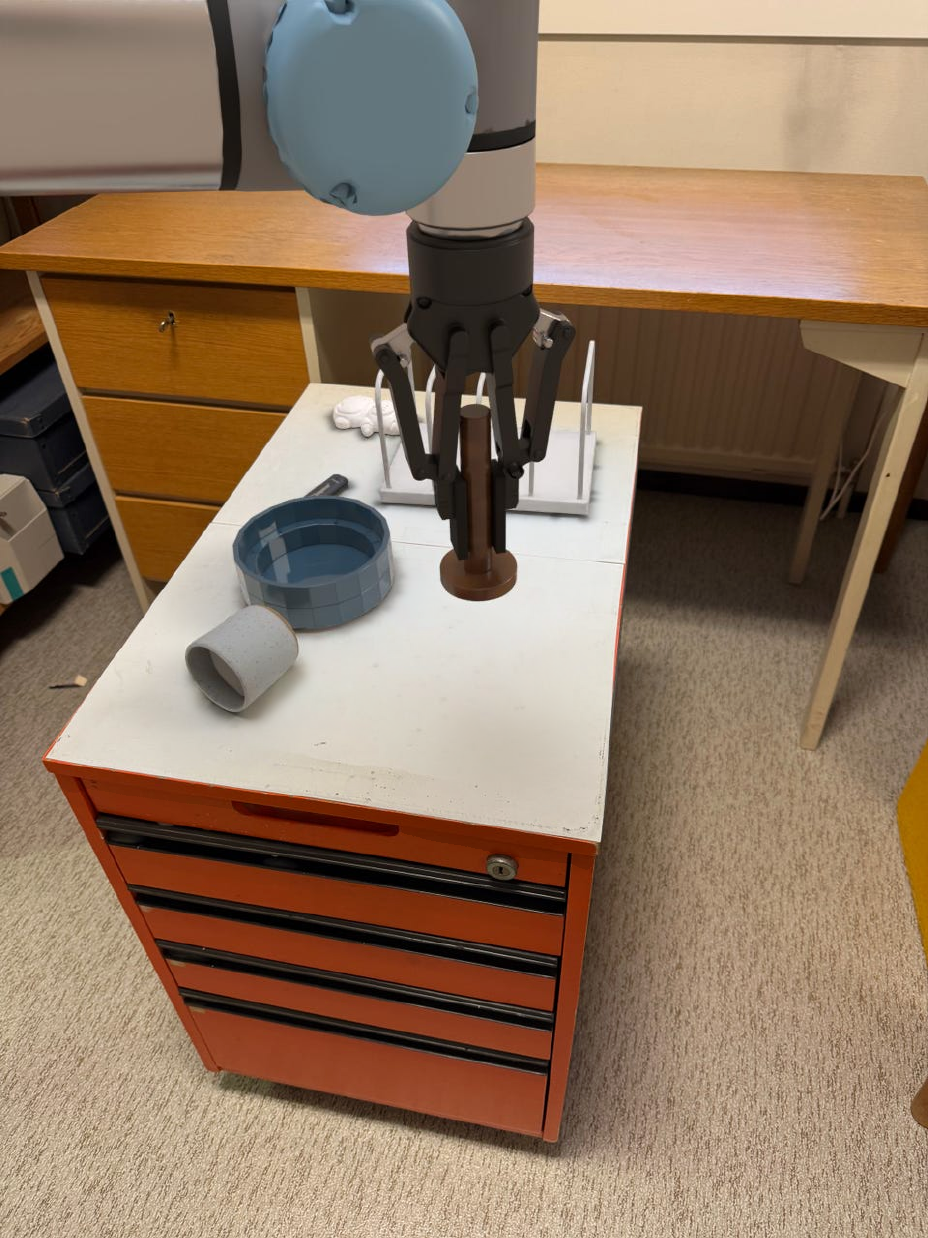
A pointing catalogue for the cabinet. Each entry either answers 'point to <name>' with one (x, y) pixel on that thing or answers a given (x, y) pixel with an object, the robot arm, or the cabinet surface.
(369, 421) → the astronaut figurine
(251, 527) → the bowl
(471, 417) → the wooden post on disc
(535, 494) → the file sorter
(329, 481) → the usb stick
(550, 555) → the cabinet surface
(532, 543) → the cabinet surface
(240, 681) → the ceramic mug
